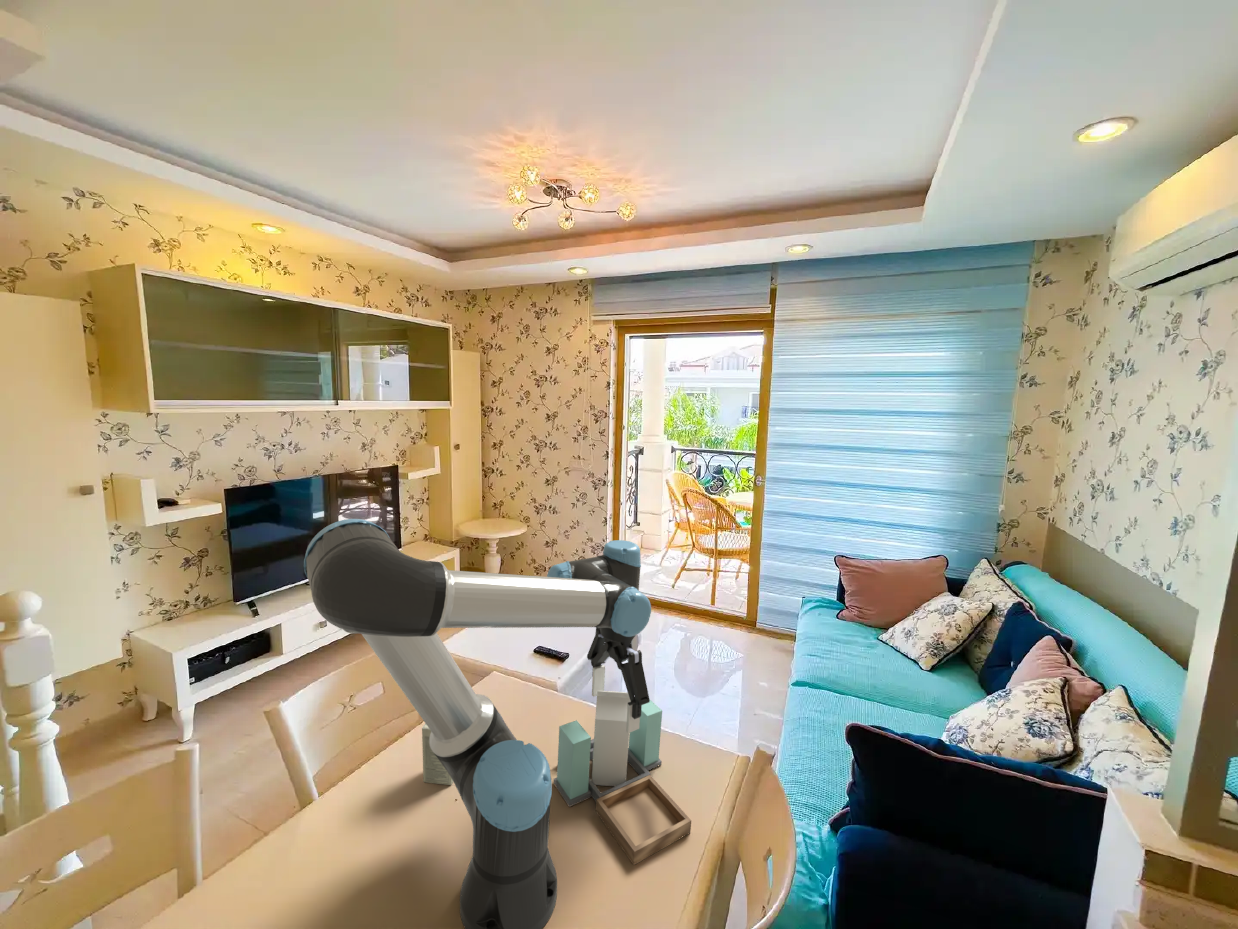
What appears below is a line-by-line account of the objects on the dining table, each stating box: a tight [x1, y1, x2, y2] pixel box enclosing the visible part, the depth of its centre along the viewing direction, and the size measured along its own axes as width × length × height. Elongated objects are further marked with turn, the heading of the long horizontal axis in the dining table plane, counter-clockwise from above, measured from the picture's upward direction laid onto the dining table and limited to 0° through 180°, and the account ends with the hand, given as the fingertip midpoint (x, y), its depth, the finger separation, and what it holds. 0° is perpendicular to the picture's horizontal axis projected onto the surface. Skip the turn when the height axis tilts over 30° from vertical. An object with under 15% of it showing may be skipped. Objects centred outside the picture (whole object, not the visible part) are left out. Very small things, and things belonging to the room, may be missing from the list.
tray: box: [595, 775, 692, 866], centre depth 95 cm, size 13×13×3 cm
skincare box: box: [421, 722, 454, 786], centre depth 103 cm, size 6×4×12 cm
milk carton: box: [591, 690, 630, 787], centre depth 106 cm, size 7×7×19 cm
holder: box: [553, 699, 663, 808], centre depth 107 cm, size 23×14×13 cm, turn 123°
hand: (614, 711), depth 106 cm, fingers open, 13 cm apart
